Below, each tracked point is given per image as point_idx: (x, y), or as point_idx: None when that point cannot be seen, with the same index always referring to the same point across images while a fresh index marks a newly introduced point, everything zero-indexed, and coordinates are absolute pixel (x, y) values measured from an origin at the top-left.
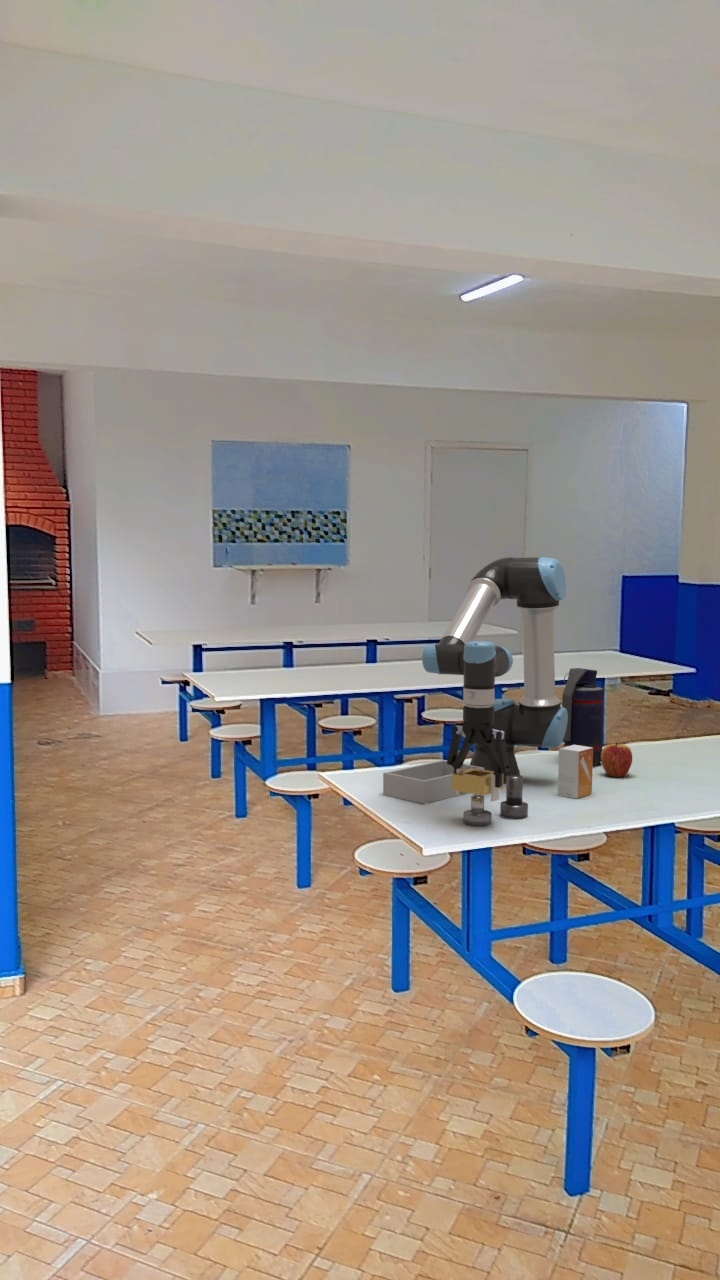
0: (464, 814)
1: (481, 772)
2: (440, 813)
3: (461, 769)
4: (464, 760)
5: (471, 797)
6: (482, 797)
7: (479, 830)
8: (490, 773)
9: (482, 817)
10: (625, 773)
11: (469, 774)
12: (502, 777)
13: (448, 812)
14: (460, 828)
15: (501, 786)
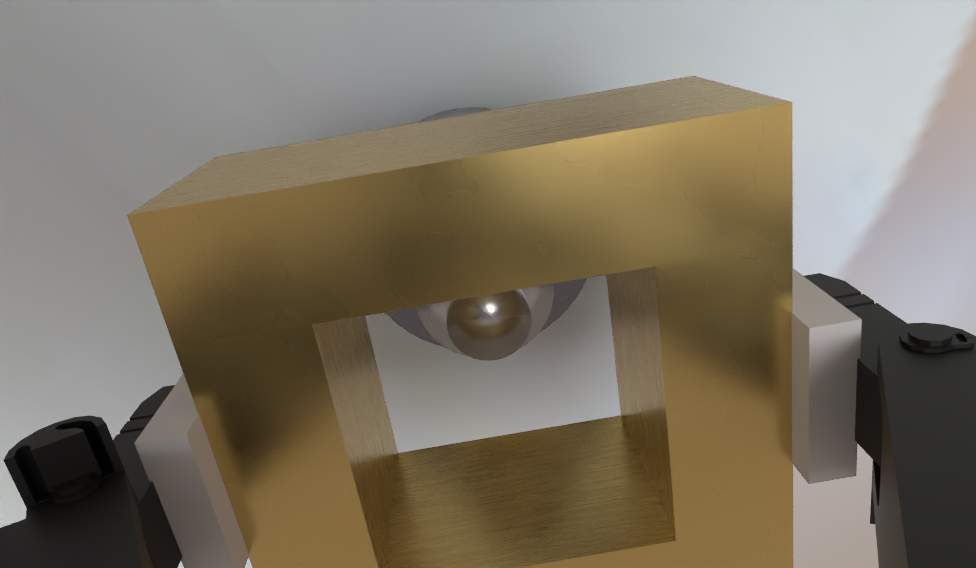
0: (424, 336)
1: (450, 290)
2: (69, 215)
3: (222, 517)
4: (136, 533)
5: (451, 347)
6: (543, 287)
7: (609, 349)
8: (661, 315)
9: (576, 291)
10: None
11: (351, 428)
12: (904, 322)
13: (78, 141)
14: (486, 403)
15: (823, 280)
